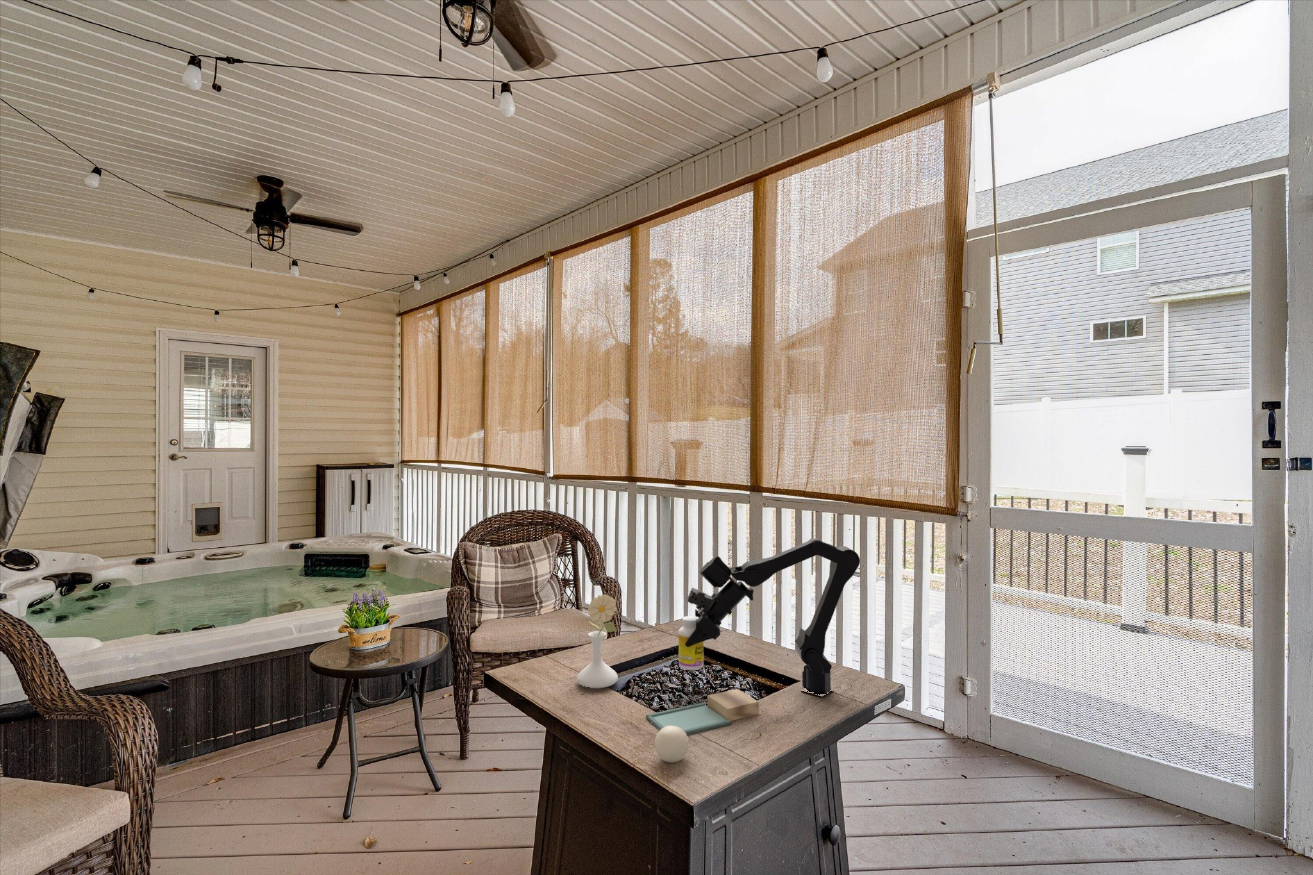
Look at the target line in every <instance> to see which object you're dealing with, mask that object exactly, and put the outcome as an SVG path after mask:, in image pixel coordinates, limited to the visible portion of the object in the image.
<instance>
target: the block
mask: <svg viewBox="0 0 1313 875" xmlns="http://www.w3.org/2000/svg"><path fill="white" fill-rule="evenodd" d="M706 699H707V701H706V702H707V705H706V706H707V707H709V708H710V709H712V710H713V711H714V712H716V713H717V714H719V715H720V716H722V717H723V718H724V719H726V720H730V722H733V721H735V720H736V721H737V720H740V719H744V718H749V717H752V716H758V715H760V710H759V709H760V708H759V707H760V701H758V700H756V699H755V698H753V697H752V696H750V695H748V694H746V693H745V692H743V691H742V690H740V689H738V688H737V689H732V690H727V691H723V692H718V693H713V694H708V695H707V698H706Z"/></svg>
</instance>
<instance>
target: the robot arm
mask: <svg viewBox="0 0 1313 875" xmlns="http://www.w3.org/2000/svg"><path fill="white" fill-rule="evenodd" d="M816 556H819V557H821V558H823V559H826V560H828V561H830V562H829V571H828V572H829V573H828V574H829V576H828V579H827V581H826V583H825V586H824V589H823V592H822V594H821V596H820V599H819V600H818V601H819V602H818V603H817V606H816V609H815V612H814V614H813V617H812V619H811V622H810V624H809V626H808V627H807V628H806V629H803V628H800V629H799V633H798V636H797V638H796V639H795V640H794V643H795V650H796V652H797V654H798V656H799V658H800V660H801V661H802V662H803V663H804V664H805V665H803V671H801V677H802V679H801V680H802V684H801V686H802V688H806V689H807V690H808V691H809V692H814V693H813V694H817V695H818V694H819V695H820V694H827V692H829V691H830V690H831V688H832V686H831V685H832V684H831V683H832V682H831V679H832V677H831V674H832V672H831V670H832V667H833V666H832V664H831V663H830V661H829V659H828V658H827V657H826V656H825V655H824V652H825V648H826V634H827V631H828V628H829V626H830V624H831V621H832V618H833V616H834V613H835V611H836V609H837V606H838V603H839V601H840V598H841V596H842V593H843V591H844V588H845V586H846V584H847V582H848V581H849V580H851V579H852V577H853V576H854V574H855V573H856V571H857V570H858V568H859V566H860V564H861V558H860V555H859V554H858V553H857V552H856V551H855V550H853V549H851V548H850V547H847V546H844V545H841V546H835V545H832V544H830V543H827V542H824V541H822V540H820V539H818V538H817V537H816V538H815V537H813V538H810V539H809V540H807V541H805V542H802V543H800V544H797V545H796V546H793V547H791V548H788V549H786V550H784V551H781V552H779V553H776V554H775V555H773V556H769V557H764V558H758V559H754V560H748V561H745V562H744V563H743V564H742V565H740V566H739V565H738V566H732V567H730V566H728V565H727V563H725V562H724V561H723V560H722V558H721V557H720V556H719V555H715V557H713V558H712V559H710V560H708V561H707V562H705V564H704V565H703V566H702V567H701V569H700V571H698V572H699V574H700V576H702V577H703V578H704V579H705V580H706V581H707V582H708V583H709V584H710V585H711V586H712V587H713V588H718V589H719V588H721V589H719V591H718V592H717V593H715V592H714V593H713V594H712V595H710V594H708V593H705V592H703V591H701V590H699V589H698V588H694V587H691V589H690V591H689V594H688V596H687V602H688V603H690V604H691V605H695V609H694V616H696V617H699V618H698V620H697V619H696V628H695V630H694V631H693V632H692V634H691V635H690V637H689V638H688V640H687V641H686V643H685V645H686V646H687V647H689V646H692V645H695V644H697V643H700V642H703V643H704V642H706V641H707V640H708V641H709V640H712V639H713V641H714V640H717V638H719V637H720V636H721V629H720V628H721V625H722V621H723V620H724V619H725V618H726V617H727V616H728V615H731V614H732V613H733V610H734V609H735V608H736V606H738V604H740V602H741V601H743V600H744V598H746V597H747V598H748V599H749V600H750V601H753V600H754V588H755V587H758V586H760V585H761V584H763V583H765V582H767V581H768V580H769V579H770V578H771V577H772V576H774V575H775V574H777V573H778V572H780V571H783V570H785V569H787V568H789V567H792V566H794V565H796V564H799V563H802V562H803V561H806V560H808V559H811V558H814V557H816ZM737 581H738V582H737ZM746 585H747V586H746ZM748 586H749V587H751V588H749V587H748ZM808 691H807V692H808Z"/></svg>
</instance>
